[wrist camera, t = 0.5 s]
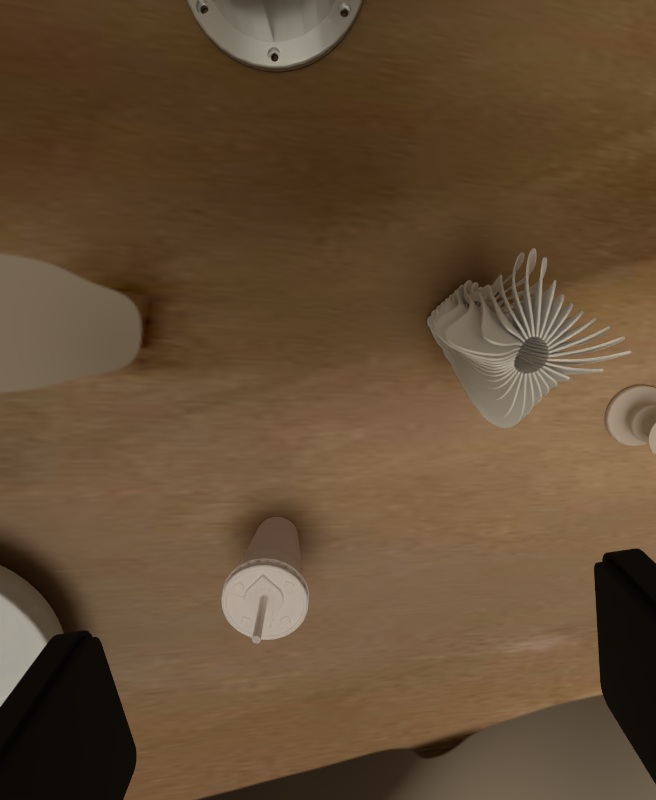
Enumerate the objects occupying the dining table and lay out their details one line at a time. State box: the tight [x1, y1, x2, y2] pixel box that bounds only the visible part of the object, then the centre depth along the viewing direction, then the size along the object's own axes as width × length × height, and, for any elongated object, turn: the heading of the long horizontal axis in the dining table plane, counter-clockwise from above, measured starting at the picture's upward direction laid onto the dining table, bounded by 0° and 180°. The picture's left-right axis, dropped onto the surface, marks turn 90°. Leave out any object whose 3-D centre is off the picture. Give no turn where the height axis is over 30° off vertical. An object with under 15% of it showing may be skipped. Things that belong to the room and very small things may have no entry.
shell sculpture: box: [427, 248, 632, 428], centre depth 34 cm, size 8×8×18 cm
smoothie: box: [222, 517, 309, 643], centre depth 42 cm, size 6×6×14 cm
